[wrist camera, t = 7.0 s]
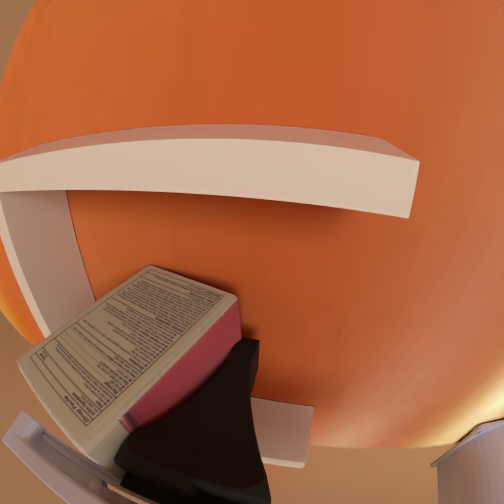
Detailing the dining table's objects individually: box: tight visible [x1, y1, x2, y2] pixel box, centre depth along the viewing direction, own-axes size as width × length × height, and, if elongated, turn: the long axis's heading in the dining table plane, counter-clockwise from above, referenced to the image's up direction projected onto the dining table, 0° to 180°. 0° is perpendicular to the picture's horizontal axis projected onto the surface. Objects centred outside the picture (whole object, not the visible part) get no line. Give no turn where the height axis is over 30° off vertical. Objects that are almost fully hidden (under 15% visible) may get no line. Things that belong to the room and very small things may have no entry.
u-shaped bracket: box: [0, 124, 420, 468], centre depth 12 cm, size 16×15×4 cm
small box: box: [17, 265, 242, 479], centre depth 10 cm, size 5×4×8 cm
